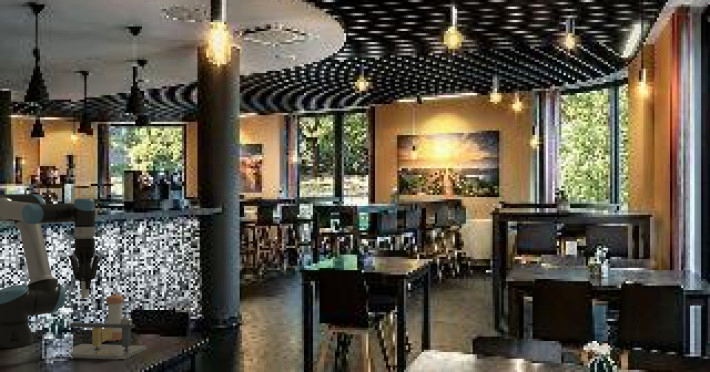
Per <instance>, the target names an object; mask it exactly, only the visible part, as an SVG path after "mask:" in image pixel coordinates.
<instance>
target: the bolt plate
mask: <svg viewBox="0 0 710 372" xmlns="http://www.w3.org/2000/svg"><path fill="white" fill-rule="evenodd" d="M146 349H147V350H148V346H147V345H133V344H131V346H129V347H128V349H125V347H122V344H102V345H100V346H98V348H96V346H92V343H80V344H78V345H75V346H73V352H72V353H71V356H72V357H74V358H73V359H91V360H92V359H95V360H96V359H99V360H118V359H124V360H123V361H125V359H126V360H128V359H130V358H132V357H134V356H136V355H135V354H137V353H139V354H141V353H143V352H145V351H147V350H146ZM144 350H145V351H144ZM142 351H143V352H142ZM140 352H141V353H140ZM133 355H134V356H133ZM137 355H138V354H137ZM131 356H132V357H131ZM129 357H130V358H129ZM127 358H128V359H127Z"/></svg>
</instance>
